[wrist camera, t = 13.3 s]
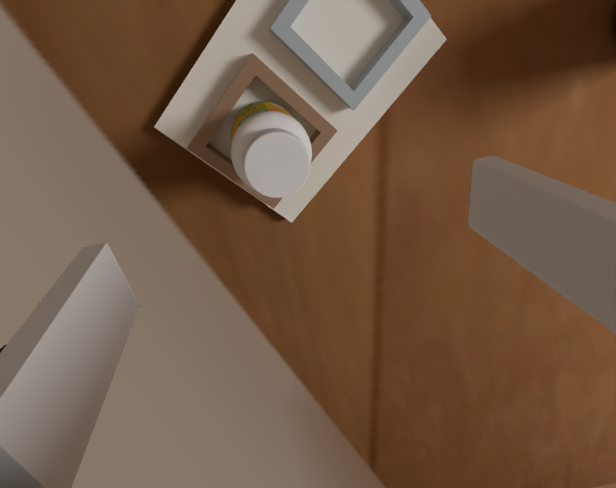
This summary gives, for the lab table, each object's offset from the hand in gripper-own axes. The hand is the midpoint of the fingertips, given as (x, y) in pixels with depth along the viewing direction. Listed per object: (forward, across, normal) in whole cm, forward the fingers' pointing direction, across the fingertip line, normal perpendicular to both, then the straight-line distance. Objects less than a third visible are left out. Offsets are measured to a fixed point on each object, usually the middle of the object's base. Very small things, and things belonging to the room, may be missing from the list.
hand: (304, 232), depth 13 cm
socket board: (+20, +4, +3) cm, 21 cm away
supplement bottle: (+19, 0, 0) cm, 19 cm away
